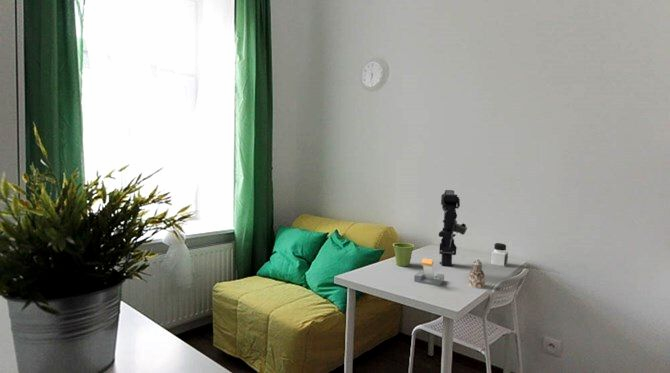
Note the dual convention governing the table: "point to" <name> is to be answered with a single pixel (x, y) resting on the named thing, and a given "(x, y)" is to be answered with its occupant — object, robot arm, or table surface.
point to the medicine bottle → (499, 255)
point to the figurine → (477, 276)
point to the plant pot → (403, 253)
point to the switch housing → (429, 279)
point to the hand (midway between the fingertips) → (448, 248)
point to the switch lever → (428, 268)
